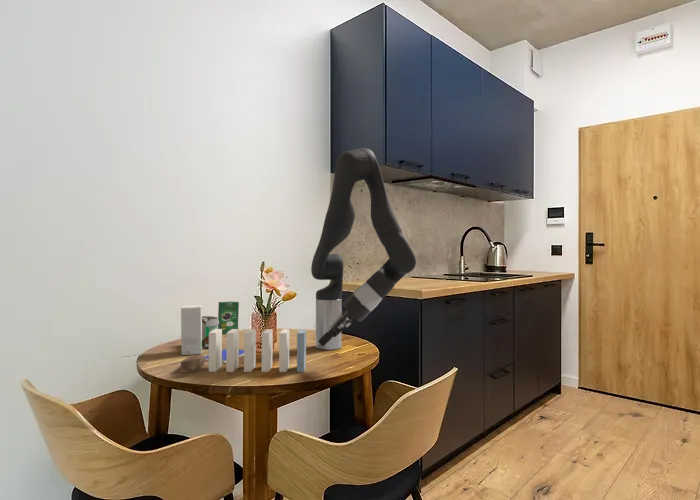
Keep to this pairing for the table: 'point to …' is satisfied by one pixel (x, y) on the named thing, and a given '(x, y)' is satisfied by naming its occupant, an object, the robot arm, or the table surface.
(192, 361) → the block
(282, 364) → the domino
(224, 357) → the hard drive
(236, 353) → the domino
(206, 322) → the food container
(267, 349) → the domino
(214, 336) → the domino
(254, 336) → the domino
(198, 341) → the skincare box
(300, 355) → the domino
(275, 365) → the table surface
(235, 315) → the coffee box
